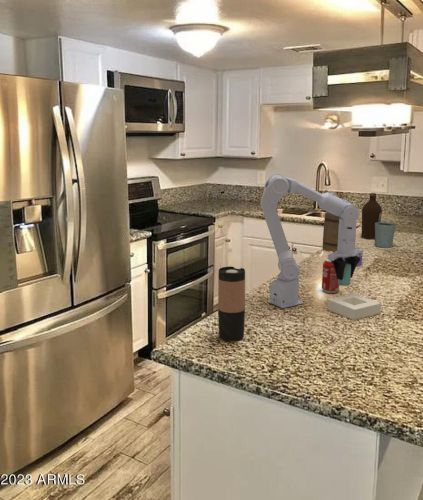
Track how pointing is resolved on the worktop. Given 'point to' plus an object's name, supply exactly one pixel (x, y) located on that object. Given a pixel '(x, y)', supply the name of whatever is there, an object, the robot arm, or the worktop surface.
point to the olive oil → (370, 217)
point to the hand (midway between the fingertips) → (344, 278)
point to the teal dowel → (346, 276)
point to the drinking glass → (384, 234)
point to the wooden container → (330, 232)
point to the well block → (354, 306)
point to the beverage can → (329, 278)
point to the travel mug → (231, 303)
